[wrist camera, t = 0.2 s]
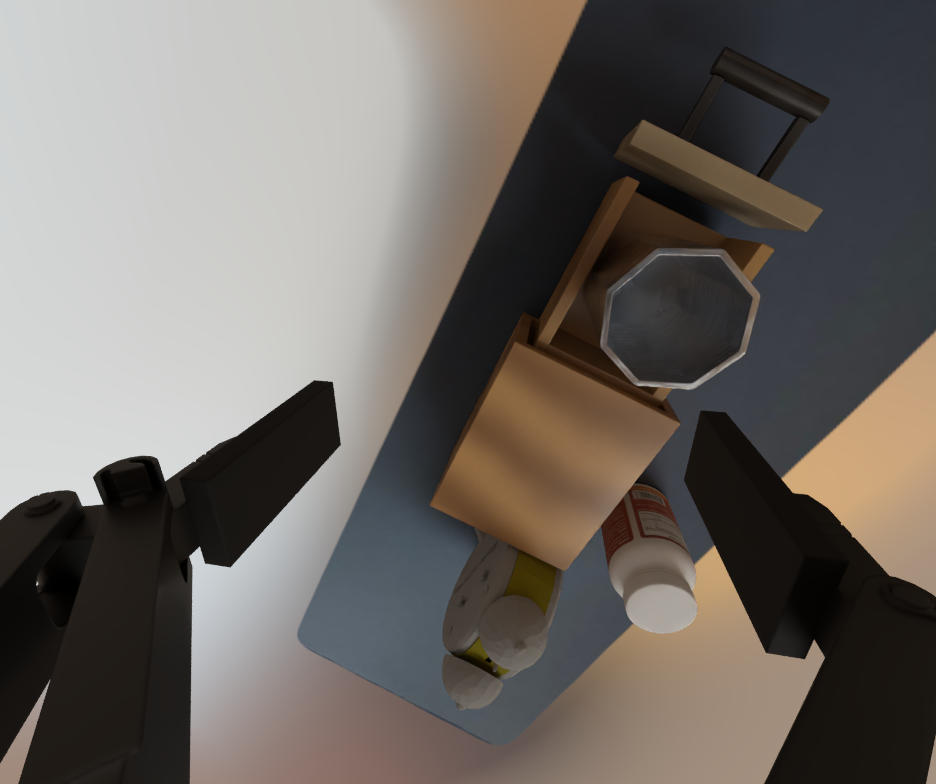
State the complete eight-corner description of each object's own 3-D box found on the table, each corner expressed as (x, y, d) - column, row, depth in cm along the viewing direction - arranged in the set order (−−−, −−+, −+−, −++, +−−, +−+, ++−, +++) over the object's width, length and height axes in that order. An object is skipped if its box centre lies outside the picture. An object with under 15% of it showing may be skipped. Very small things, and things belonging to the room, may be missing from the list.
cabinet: (523, 311, 35) (515, 341, 27) (652, 375, 35) (681, 423, 27) (452, 449, 41) (429, 505, 33) (563, 502, 41) (565, 572, 33)
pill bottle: (612, 542, 42) (631, 648, 32) (588, 492, 40) (600, 587, 30) (679, 525, 40) (721, 633, 30) (656, 472, 38) (693, 566, 28)
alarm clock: (501, 581, 46) (479, 737, 33) (446, 550, 46) (401, 694, 32) (564, 510, 41) (569, 659, 28) (503, 474, 41) (478, 606, 27)
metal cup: (590, 232, 30) (612, 247, 19) (690, 234, 29) (773, 249, 18) (581, 324, 32) (594, 383, 21) (672, 328, 31) (735, 392, 20)
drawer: (667, 54, 26) (702, 7, 20) (820, 131, 26) (901, 107, 20) (527, 320, 34) (522, 345, 28) (646, 378, 34) (666, 416, 28)
